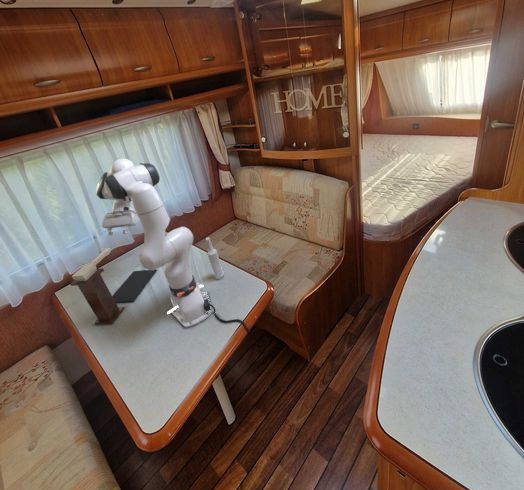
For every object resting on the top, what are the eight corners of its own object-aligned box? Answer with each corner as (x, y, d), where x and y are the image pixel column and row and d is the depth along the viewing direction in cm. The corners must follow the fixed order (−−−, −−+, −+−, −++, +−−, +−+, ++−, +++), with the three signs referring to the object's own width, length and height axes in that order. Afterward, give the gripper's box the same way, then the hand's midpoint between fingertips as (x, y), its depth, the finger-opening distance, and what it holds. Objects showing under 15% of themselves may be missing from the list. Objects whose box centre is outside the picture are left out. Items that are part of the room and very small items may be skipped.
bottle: (222, 279, 146) (210, 241, 136) (213, 279, 148) (201, 241, 137) (225, 273, 151) (214, 235, 141) (217, 273, 152) (205, 236, 142)
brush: (86, 281, 122) (82, 275, 121) (75, 282, 123) (71, 276, 122) (116, 252, 142) (113, 247, 140) (106, 253, 143) (103, 248, 142)
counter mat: (133, 302, 143) (132, 301, 143) (107, 303, 147) (106, 302, 146) (156, 270, 167) (156, 269, 166) (134, 272, 170) (133, 271, 169)
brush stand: (112, 324, 131) (88, 282, 121) (94, 324, 133) (69, 283, 123) (124, 308, 140) (103, 268, 130) (107, 308, 142) (85, 269, 132)
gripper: (101, 211, 153) (97, 234, 148) (132, 207, 149) (129, 231, 144) (109, 214, 159) (105, 237, 154) (140, 210, 155) (137, 234, 150)
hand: (117, 234), depth 149 cm, fingers open, 8 cm apart
